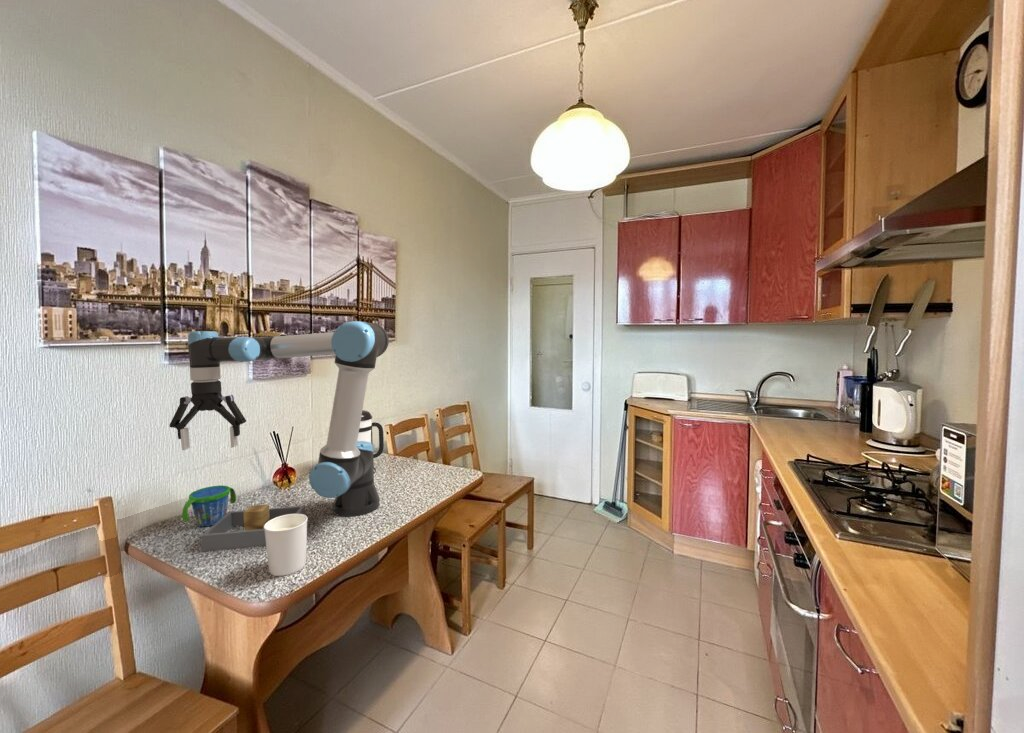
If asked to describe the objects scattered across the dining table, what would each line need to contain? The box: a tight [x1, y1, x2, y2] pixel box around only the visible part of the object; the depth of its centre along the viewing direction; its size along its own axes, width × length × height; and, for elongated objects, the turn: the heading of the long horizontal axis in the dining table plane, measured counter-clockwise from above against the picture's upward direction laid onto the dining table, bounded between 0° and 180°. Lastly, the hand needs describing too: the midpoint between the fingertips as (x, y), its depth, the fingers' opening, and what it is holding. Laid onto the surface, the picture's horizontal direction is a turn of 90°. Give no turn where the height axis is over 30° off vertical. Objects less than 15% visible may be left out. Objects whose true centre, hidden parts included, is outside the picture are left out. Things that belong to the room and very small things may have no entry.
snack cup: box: [181, 484, 237, 527], centre depth 128 cm, size 16×10×10 cm
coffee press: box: [357, 409, 385, 473], centre depth 176 cm, size 17×16×30 cm
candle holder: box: [264, 514, 309, 577], centre depth 103 cm, size 10×10×12 cm
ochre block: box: [243, 503, 270, 531], centre depth 120 cm, size 5×5×8 cm
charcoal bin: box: [200, 504, 306, 552], centre depth 121 cm, size 22×16×4 cm
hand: (210, 447), depth 126 cm, fingers open, 13 cm apart
